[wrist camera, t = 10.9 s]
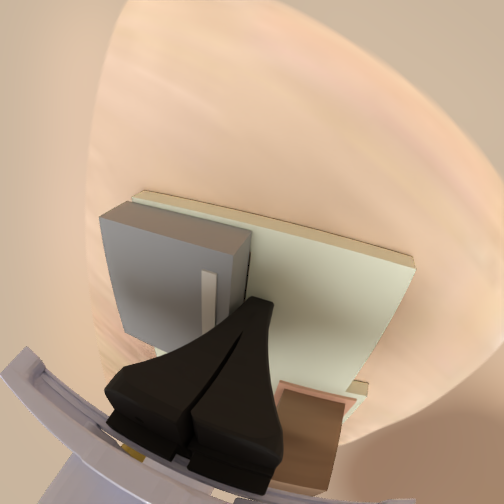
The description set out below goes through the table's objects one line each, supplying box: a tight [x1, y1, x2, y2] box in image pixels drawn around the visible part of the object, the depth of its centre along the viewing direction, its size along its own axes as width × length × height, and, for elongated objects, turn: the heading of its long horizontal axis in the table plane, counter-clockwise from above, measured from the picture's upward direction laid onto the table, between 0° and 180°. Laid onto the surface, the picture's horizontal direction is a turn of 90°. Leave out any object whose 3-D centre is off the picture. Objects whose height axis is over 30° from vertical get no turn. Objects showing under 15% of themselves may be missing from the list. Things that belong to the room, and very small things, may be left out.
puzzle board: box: [132, 190, 416, 424], centre depth 15 cm, size 14×14×1 cm
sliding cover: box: [99, 201, 252, 353], centre depth 13 cm, size 8×6×2 cm
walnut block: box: [268, 389, 345, 497], centre depth 14 cm, size 4×4×6 cm
